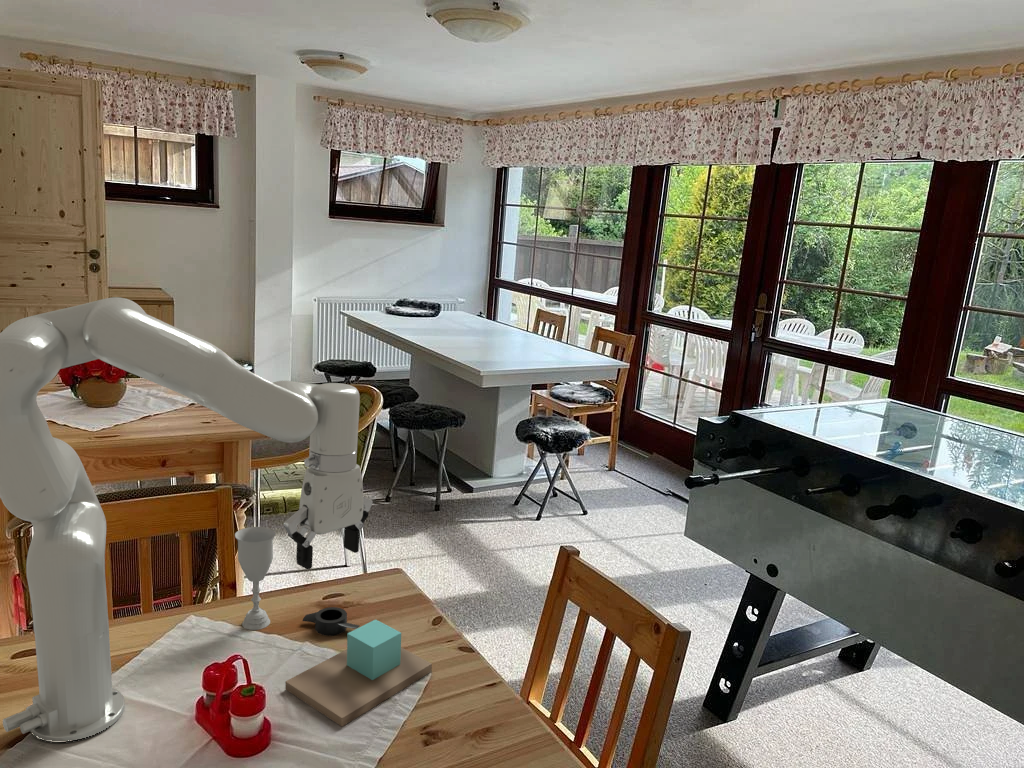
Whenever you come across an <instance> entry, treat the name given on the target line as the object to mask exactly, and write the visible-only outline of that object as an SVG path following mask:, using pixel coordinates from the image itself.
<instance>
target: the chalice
mask: <svg viewBox="0 0 1024 768" xmlns="http://www.w3.org/2000/svg"><path fill="white" fill-rule="evenodd" d="M275 536H276V531H275V530H274V529H272V528H270V527H264V526H249V527H245V528H242V529H239V530H238V531H236V532H235V533H234V537H235V539H236V540H237V556H238V557H237V561H238V564H239V566H240V568H241V570H242V572H243V573H244V575H245V577H246V579H247V580H248V581H249V582H252V584H253V585H252V589H251V590H250V591H251V592H252V594H253V596H252V598H251V599H250V601H251V602H252V604H253V606H252V608H250V609H249V610H248V612H247V613H245V616H244V618H243V621H242V624H241V625H242V628H244V629H246V630H250V631H259V630H262V629H265V628H267V627H268V626H269V625H270V624H271V619H270V618H269V615H268V614H267V611H266V610H265V609H263V608H261V607H260V605H259V604H260V602H261V600H262V598H261V597H260V595H259V594H260V592H261V588H260V585H259V584H260V583H259V582H261V581H264V579H265V577H266V575H267V573H268V571H269V570H270V568H271V564H272V561H273V558H274V554H273V553H274V552H273V551H274V549H273V548H274V547H273V546H274V542H273V541H274V539H275Z"/></svg>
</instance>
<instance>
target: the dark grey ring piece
mask: <svg viewBox="0 0 1024 768" xmlns="http://www.w3.org/2000/svg"><path fill="white" fill-rule="evenodd" d="M301 622H308V623H309V622H310V623H313V624H315V627H314V629H315V632H316V633H317V634H319V635H321V636H325V637H332V636H333V637H334V636H338V635H341V634H343V633H344V632H346V630H347V628H348V629H353V630H355V629H357V628H359V627H361V626H360V625H359V624H356V623H355V624H354V623H350V622H348V614H347V611H346V610H345V609H344V608H341V607H335V606H331V607H325V608H321V609H320V610H318V611H316V612H312V613H307V614H305V615H304V617H303V618H302V620H301Z"/></svg>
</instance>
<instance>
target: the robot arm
mask: <svg viewBox="0 0 1024 768" xmlns="http://www.w3.org/2000/svg"><path fill="white" fill-rule="evenodd" d="M96 360H100V361H102V362H104V363H106V364H110V365H111V366H113V367H115V368H118V369H120V370H123V371H125V372H127V373H130V374H132V375H134V376H137V377H140V378H142V379H145V380H148V381H149V382H152V383H154V384H157V385H159V386H162V387H164V388H166V389H168V390H171V391H173V392H176V393H178V394H180V395H182V396H185V397H186V398H189V399H190V400H192V401H194V402H195V403H197V404H198V405H200V406H203V407H205V408H207V409H208V410H211V411H212V412H215V413H217V414H219V415H220V416H222V417H224V418H227V420H230V421H232V422H234V423H236V424H238V425H240V426H242V427H244V428H247V429H249V430H252V431H254V432H256V433H259V434H262V435H264V436H267V437H268V438H271V439H274V440H276V441H279V442H284V443H298V442H302V441H304V440H306V439H308V438H309V451H308V452H309V455H308V456H309V457H307V458H305V459H304V461H303V463H304V466H305V467H306V469H305V472H304V477H303V480H302V486H301V492H300V499H299V509H298V510H297V511H295V513H293V514H292V515H291V516H290V517H289V518H288V519H286V520H285V521H284V522H283V526H284V529H285V531H286V533H287V536H288V537H289V538H290V539H292V541H293V542H295V543H296V552H295V553H296V555H295V557H296V558H295V559H296V564H297V565H299V566H300V567H302V568H304V569H306V570H307V571H308V570H311V569H312V567H313V556H314V555H313V554H314V552H313V550H314V547H313V545H311V543H312V542H313V540H314V539H315V537H316V536H317V535H325V534H328V533H329V534H330V533H332V532H335V531H339V530H341V529H344V530H343V531H344V532H343V548H344V549H346V550H348V551H350V552H352V553H356V554H357V553H358V552H359V551H360V550H359V549H360V535H361V534H360V531H361V530H362V529H363V528H364V523H365V521H366V520H367V518H368V517H369V512H370V510H371V508H372V506H373V499H370V498H367V497H365V496H364V486H363V485H364V483H363V476H362V471H361V466H360V465H359V464H357V457H358V455H357V454H358V441H359V440H358V439H359V437H358V436H359V419H360V403H361V402H360V401H361V397H360V396H361V395H360V393H359V392H360V391H359V390H358V389H357V387H355V386H353V385H350V384H348V383H347V384H346V383H343V382H342V383H341V382H340V383H338V382H327V383H322V384H318V383H317V384H316V383H308V382H299V381H294V380H278V381H274V382H271V381H269V380H267V379H265V378H264V377H261V376H259V375H258V374H255V373H254V372H252V371H250V370H248V369H247V368H245V367H244V366H242V365H241V364H239V363H238V362H237V361H235V360H234V359H233V358H232V357H230V356H229V355H228V354H227V353H226V352H224V350H222V349H221V348H219V347H217V346H216V345H215V344H213V343H211V342H209V341H207V340H205V339H202V338H200V337H199V336H196V335H193V334H192V333H189V332H186V331H184V330H182V329H181V328H178V327H176V326H174V325H171V324H170V323H167V322H165V321H163V320H161V319H158V318H157V317H154V316H152V315H149V314H148V313H146V311H145V310H144V309H143V308H142V307H141V306H140V305H139V304H138V303H136V302H135V301H133V300H131V299H128V298H126V297H125V298H124V297H121V296H120V297H119V296H117V297H116V296H114V297H106V298H102V299H98V300H95V301H94V300H93V301H90V302H86V303H83V304H78V305H74V306H70V307H69V306H68V307H65V308H60V309H55V310H53V311H51V310H50V311H48V312H43V313H39V314H35V315H31V316H26V317H23V318H20V319H18V320H16V321H14V322H12V323H11V324H8V326H6V327H5V328H4V329H3V330H2V331H1V332H0V500H1V502H2V503H3V505H4V506H5V508H6V509H7V510H8V512H9V513H11V514H12V515H14V517H16V518H18V519H21V520H23V521H26V522H30V523H31V525H32V527H33V529H34V533H33V535H32V537H31V540H30V541H31V542H30V543H29V544H30V545H29V547H28V551H27V555H26V566H25V567H26V579H27V580H26V581H27V584H28V591H29V596H30V601H31V602H30V603H31V611H32V612H31V613H32V622H33V623H32V625H33V632H34V641H35V643H34V644H35V655H36V666H37V677H38V678H37V679H38V690H39V693H38V694H37V695H34V696H32V704H31V705H29V706H26V708H25V710H23V711H20V712H18V713H15V714H12V715H10V716H7V717H6V718H3V719H2V727H3V728H4V731H5V732H6V733H7V732H8V733H9V732H11V731H13V730H15V729H17V728H19V729H20V732H21V733H22V734H23V735H24V734H26V733H28V732H30V733H31V732H32V733H33V734H34V735H35V736H38V737H39V738H42V739H44V740H52V741H68V740H69V741H70V740H76V739H81V738H85V739H87V738H86V737H88V738H90V737H89V736H91V737H93V736H92V735H94V736H96V735H97V734H96V733H98V734H100V733H102V732H103V730H104V731H105V730H106V728H107V729H108V728H110V727H111V726H112V725H114V724H115V723H117V722H118V720H119V719H120V718H119V717H121V716H122V715H123V713H124V711H125V697H124V695H123V694H122V692H120V690H118V689H116V688H113V678H112V663H111V662H112V660H111V659H112V658H111V644H110V642H111V641H110V628H109V627H110V626H109V624H110V623H109V612H108V611H109V610H108V597H107V595H108V594H107V585H106V584H107V583H106V561H105V559H106V555H105V554H106V544H107V543H106V541H107V539H106V537H107V520H106V516H105V514H104V511H103V508H102V506H101V503H100V501H99V499H98V496H97V494H96V492H95V490H94V487H93V484H92V483H91V481H90V478H89V476H88V474H87V472H86V469H85V466H84V464H83V463H82V460H81V458H80V457H79V454H78V453H77V452H76V450H75V449H74V448H73V447H72V446H71V445H70V444H68V443H67V442H66V441H65V440H62V439H60V438H57V437H53V434H52V433H51V430H50V428H49V427H50V426H49V425H48V424H49V423H48V422H47V420H46V418H45V416H44V414H43V411H42V410H41V409H40V407H39V405H38V401H37V398H38V393H39V392H40V391H41V389H43V388H44V387H45V386H46V385H47V384H49V383H50V382H52V380H53V379H54V378H55V377H56V376H57V374H58V373H59V371H60V370H61V369H66V368H69V367H73V366H76V365H80V364H84V363H89V362H91V361H96ZM298 526H300V527H299V528H298ZM306 533H307V534H306ZM121 714H122V715H121ZM109 726H110V727H109ZM101 731H102V732H101ZM99 732H100V733H99ZM32 733H31V734H32ZM95 734H96V735H95ZM35 736H34V737H35Z"/></svg>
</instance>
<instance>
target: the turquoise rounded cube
mask: <svg viewBox="0 0 1024 768" xmlns="http://www.w3.org/2000/svg"><path fill="white" fill-rule="evenodd" d="M346 637H347V639H346V641H347V642H346V643H347V644H346V649H347V666H349V667H351V668H352V669H354V670H356V671H358V672H359V673H361V674H363V675H364V676H366V677H368V678H369V679H371V680H374V679H376V678H377V677H379V676H381V675H383V674H384V673H386V672H388V671H389V670H391V669H393V668H395V667H396V666H398V665H400V659H401V647H402V632H400V630H397V629H395V628H393V627H391V626H389V625H387V624H385V623H384V622H382V621H379V620H377V619H373V620H371V621H370V622H367V623H365V624H363V625H362V626H359V627H358V628H357V629H353V630H352V631H349V632H347V635H346Z"/></svg>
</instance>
